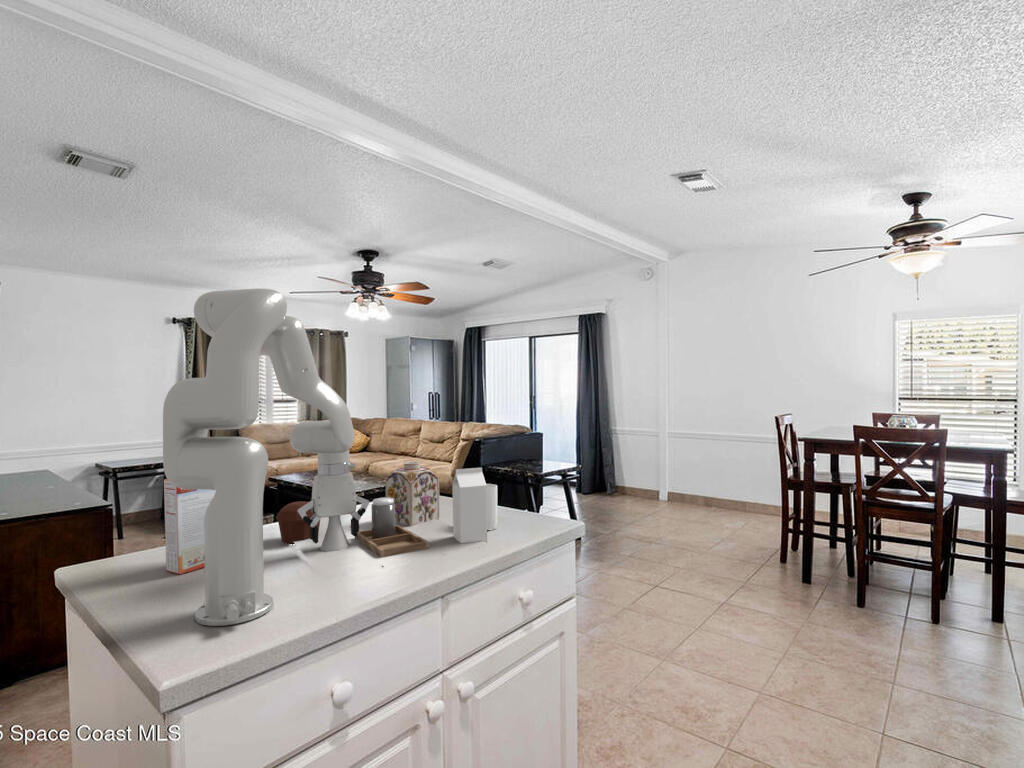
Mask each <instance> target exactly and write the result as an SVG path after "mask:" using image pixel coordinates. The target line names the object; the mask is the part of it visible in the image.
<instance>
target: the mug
mask: <svg viewBox="0 0 1024 768" xmlns="http://www.w3.org/2000/svg"><path fill="white" fill-rule="evenodd" d="M486 485H487V530H489V529H494V528H496V527H497V528H498V485H497V484H492V483H486ZM497 528H496V529H497Z"/></svg>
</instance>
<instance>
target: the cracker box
mask: <svg viewBox="0 0 1024 768" xmlns="http://www.w3.org/2000/svg"><path fill="white" fill-rule="evenodd" d="M215 493H216V490H202V489H182V488H178V487H176V486H174V485H172V484H171V483H170V482H169V481H168V479H167V478H165V479H163V499H164V500H163V501H164V503H163V504H164V506H163V507H164V532H165V534H164V535H165V536H164V537H165V539H164V540H165V568H166V570H165V571H167V572H170V573H173V574H176V575H183V574H186V572H187V573H190V572H192V571H196V570H200V569H203V568H205V566H204V516H205V512H206V509H207V507H208V505H209V504H210V502H211V500H212V499H213V497H214V495H215Z"/></svg>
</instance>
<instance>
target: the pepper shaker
mask: <svg viewBox="0 0 1024 768" xmlns="http://www.w3.org/2000/svg"><path fill="white" fill-rule="evenodd" d="M371 529H372V539H377V538H383V537H389V536H395V535H396V523H395V503H394V499H393V498H386V497H379V498H374V499H372V503H371Z"/></svg>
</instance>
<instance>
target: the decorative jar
mask: <svg viewBox="0 0 1024 768" xmlns="http://www.w3.org/2000/svg"><path fill="white" fill-rule="evenodd" d="M439 477H440V476H438V474H437V473H436V472H435V471H434V470H433V469H432V468H431V467H423V466H421V463H420V461H409V462H408V461H407V462H404V463H403V467H400V468H395V469H394V470H392V471H391V472H390V473H389V475H388V476H387V477H386V478H385V498H393V499H394V503H395V524H398V525H399V524H401V525H405V526H409V527H413V526H417V525H420V524H424V523H428V522H430V521H431V522H432V521H434V520H437V521H438V520H439V521H440V513H441V511H440V509H441V507H440V479H439Z"/></svg>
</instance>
